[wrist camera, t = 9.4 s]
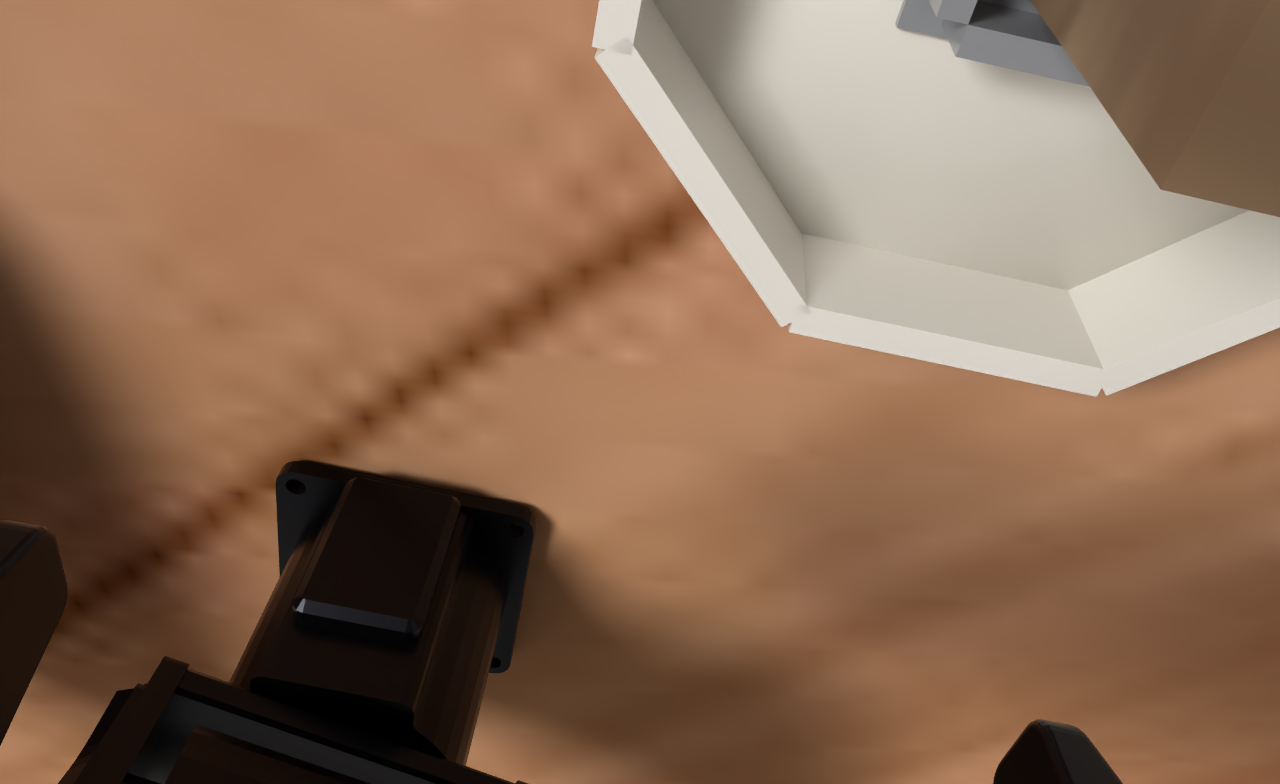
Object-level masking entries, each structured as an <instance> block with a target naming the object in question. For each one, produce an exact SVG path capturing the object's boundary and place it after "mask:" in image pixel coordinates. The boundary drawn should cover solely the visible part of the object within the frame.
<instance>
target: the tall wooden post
mask: <svg viewBox="0 0 1280 784" xmlns="http://www.w3.org/2000/svg"><path fill="white" fill-rule="evenodd" d="M1030 1H1031V2H1032V4H1033V5H1034V7H1035V8H1036V9H1037V11H1038V12H1039V14H1040V15H1041V17H1042V18H1043V20H1044V21H1045V22H1046V24H1047V25H1048V27H1049V28H1050V30H1051V31H1052V33H1053V34H1054V36H1055V37H1056V38H1057V40H1058V41H1059V43H1060V44H1061V46H1062V47H1063V49H1064V50H1065V52H1066V53H1067V54H1068V56H1069V57H1070V59H1071V60H1072V62H1073V63H1074V65H1075V66H1076V68H1077V69H1078V70H1079V72H1080V73H1081V75H1082V76H1083V78H1084V79H1085V81H1086V82H1087V84H1088V85H1089V86H1090V88H1091V89H1092V91H1093V92H1094V94H1095V95H1096V97H1097V98H1098V99H1099V101H1100V102H1101V104H1102V105H1103V107H1104V108H1105V110H1106V111H1107V113H1108V114H1109V115H1110V117H1111V118H1112V120H1113V121H1114V123H1115V124H1116V126H1117V127H1118V129H1119V130H1120V131H1121V133H1122V134H1123V136H1124V137H1125V139H1126V140H1127V142H1128V143H1129V145H1130V146H1131V147H1132V149H1133V150H1134V152H1135V153H1136V155H1137V156H1138V158H1139V159H1140V160H1141V162H1142V163H1143V165H1144V166H1145V168H1146V169H1147V171H1148V172H1149V174H1150V175H1151V176H1152V178H1153V179H1154V181H1155V182H1156V184H1157V185H1158V187H1159V188H1160V190H1165V191H1169V192H1173V193H1177V194H1182V195H1186V196H1190V197H1195V198H1199V199H1203V200H1208V201H1212V202H1216V203H1220V204H1225V205H1229V206H1233V207H1238V208H1242V209H1246V210H1251V211H1255V212H1259V213H1263V214H1268V215H1272V216H1276V217H1280V0H1030Z"/></svg>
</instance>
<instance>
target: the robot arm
mask: <svg viewBox="0 0 1280 784" xmlns="http://www.w3.org/2000/svg"><path fill="white" fill-rule="evenodd" d="M294 479H296V480H298V481H301V482H302V483H299V482H297V481H295V480H294ZM276 501H277V523H278V545H279V567H280V578H279V580H278V582H277V585H276V587H275V589H274V591H273V593H272V595H271V597H270V599H269V601H268V603H267V605H266V607H265V609H264V611H263V613H262V616H261V618H260V620H259V622H258V624H257V626H256V628H255V630H254V632H253V634H252V636H251V638H250V640H249V642H248V644H247V647H246V649H245V651H244V653H243V655H242V657H241V659H240V661H239V663H238V665H237V667H236V669H235V671H234V673H233V676H232V678H231V680H230V682H229V683H228V682H225V681H222V680H219V679H216V678H213V677H211V676H208V675H205V674H202V673H199V672H196V671H193V670H191V669H189V666H190V664H187V663H184V662H181V661H179V660H176V659H173V658H170V657H167V656H165V657H164V658H163V660H162V661H161V663H160V665H159V666H158V668H157V669H156V671H155V673H154V674H153V676H152V677H151V679H150V681H149V682H148V684H145V685H141V684H137V686H136V687H135V688H133V689H127V690H120V691H117V692H116V694H115V695H114V697H113V699H112V700H111V702H110V704H109V706H108V707H107V709H106V711H105V712H104V714H103V716H102V718H101V719H100V721H99V723H98V724H97V726H96V728H95V730H94V731H93V733H92V735H91V736H90V738H89V740H88V741H87V743H86V745H85V746H84V748H83V749H82V751H81V753H80V754H79V756H78V757H77V759H76V760H75V762H74V763H73V764H72V766H71V767H70V769H69V770H68V771H67V772H66V774H65V775H64V776H63V778H62V779H61V780H60V781H59V783H58V784H528V783H525V782H522V781H519V780H518V781H517V782H516V783H512V782H509V781H507V780H504V779H501V778H498V777H495V776H492V775H489V774H487V773H484V772H481V771H478V770H475V769H472V768H470V767H467V766H466V762H467V758H468V754H469V750H470V746H471V742H472V738H473V734H474V730H475V726H476V722H477V718H478V714H479V710H480V706H481V702H482V698H483V693H484V689H485V685H486V681H487V677H488V673H501V672H504V671H506V670H508V668H509V666H510V663H511V658H512V654H513V648H514V643H515V637H516V632H517V626H518V621H519V615H520V610H521V604H522V599H523V593H524V588H525V582H526V577H527V571H528V566H529V560H530V555H531V549H532V544H533V538H534V533H535V527H536V517H535V515H534V514H533V512H532V511H530V510H529V509H528V508H526V507H523V506H520V505H516V504H511V503H506V502H501V501H496V500H491V499H486V498H481V497H476V496H471V495H466V494H461V493H456V492H451V491H446V490H441V489H436V488H431V487H426V486H421V485H416V484H411V483H406V482H401V481H396V480H391V479H386V478H381V477H376V476H371V475H366V474H361V473H356V472H351V471H345V470H340V469H335V468H330V467H325V466H320V465H315V464H310V463H305V462H298V461H292V462H289V463H287V464H285V465H284V466H283V468H282V469H281V471H280V473H279V475H278V477H277V480H276ZM511 523H516V524H519V525H521V526H515V525H512V524H511ZM66 599H67V582H66V578H65V574H64V570H63V566H62V562H61V558H60V554H59V550H58V546H57V541H56V538H55V535H54V533H53V532H52V531H51V530H50V529H49V528H47V527H44V526H40V525H35V524H30V523H24V522H19V521H14V520H2V521H0V745H1V743H2V741H3V739H4V737H5V734H6V732H7V730H8V728H9V726H10V724H11V722H12V720H13V717H14V715H15V713H16V711H17V709H18V707H19V705H20V703H21V700H22V698H23V696H24V694H25V692H26V690H27V688H28V685H29V683H30V681H31V679H32V677H33V675H34V673H35V671H36V668H37V666H38V664H39V662H40V660H41V658H42V656H43V653H44V651H45V649H46V647H47V645H48V643H49V641H50V639H51V636H52V634H53V632H54V630H55V628H56V626H57V624H58V621H59V619H60V617H61V615H62V613H63V610H64V607H65V604H66ZM993 784H1123V783H1122V782H1121V780H1120V779H1119V778H1118V776H1117V775H1116V774H1115V773H1114V771H1113V770H1112V769H1111V767H1110V766H1109V765H1108V763H1107V762H1106V761H1105V759H1104V758H1103V757H1102V755H1101V754H1100V753H1099V751H1098V750H1097V749H1096V747H1095V746H1094V745H1093V743H1092V742H1091V741H1090V739H1089V738H1088V737H1087V736H1086V735H1085V734H1084V733H1083V732H1082V731H1081V730H1080V729H1078V728H1077V727H1074V726H1071V725H1067V724H1062V723H1057V722H1052V721H1046V720H1035V721H1033V722H1031V723H1030V724H1029V725H1028V726H1027V727H1026V728H1025V730H1024V731H1023V732H1022V734H1021V735H1020V736H1019V738H1018V739H1017V740H1016V742H1015V743H1014V744H1013V746H1012V747H1011V748H1010V750H1009V751H1008V752H1007V754H1006V755H1005V756H1004V758H1003V759H1002V760H1001V762H1000V763H999V765H998V767H997V770H996V772H995V776H994V782H993Z"/></svg>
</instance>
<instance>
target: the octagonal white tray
mask: <svg viewBox="0 0 1280 784" xmlns="http://www.w3.org/2000/svg"><path fill="white" fill-rule="evenodd" d="M592 47H596V48H598V49H597V52H596V55H595V57H594V58H595V59H596V61H597V62H598V63H599V65H600V66H601V68H602V69H603V71H604V72H605V74H606V75H607V76H608V78H609V79H610V81H611V82H612V84H613V85H614V87H615V88H616V89H617V91H618V92H619V94H620V95H621V97H622V98H623V100H624V101H625V102H626V104H627V105H628V107H629V108H630V110H631V111H632V113H633V114H634V115H635V117H636V118H637V120H638V121H639V123H640V124H641V126H642V127H643V128H644V130H645V131H646V133H647V134H648V136H649V137H650V139H651V140H652V141H653V143H654V144H655V146H656V147H657V149H658V150H659V151H660V153H661V154H662V156H663V157H664V159H665V160H666V162H667V163H668V164H669V166H670V167H671V169H672V170H673V172H674V173H675V175H676V176H677V177H678V179H679V180H680V182H681V183H682V185H683V186H684V188H685V189H686V190H687V192H688V193H689V195H690V196H691V198H692V199H693V201H694V202H695V203H696V205H697V206H698V208H699V209H700V211H701V212H702V214H703V215H704V216H705V218H706V219H707V221H708V222H709V224H710V225H711V227H712V228H713V229H714V231H715V232H716V234H717V235H718V237H719V238H720V240H721V241H722V242H723V244H724V245H725V247H726V248H727V250H728V251H729V253H730V254H731V255H732V257H733V258H734V260H735V261H736V263H737V264H738V266H739V267H740V268H741V270H742V271H743V273H744V274H745V276H746V277H747V279H748V280H749V281H750V283H751V284H752V286H753V287H754V289H755V290H756V292H757V293H758V294H759V296H760V297H761V299H762V300H763V302H764V303H765V304H766V306H767V307H768V309H769V310H770V312H771V313H772V315H773V316H774V317H775V319H776V320H777V322H778V323H779V325H780V326H781V327H783V326H785V325H787V324H788V325H789V332H791V333H795V334H800V335H805V336H810V337H814V338H819V339H824V340H829V341H833V342H838V343H843V344H848V345H853V346H857V347H862V348H867V349H872V350H876V351H881V352H886V353H891V354H895V355H900V356H905V357H910V358H914V359H919V360H924V361H929V362H933V363H938V364H943V365H948V366H952V367H957V368H962V369H967V370H971V371H976V372H981V373H986V374H990V375H995V376H1000V377H1005V378H1009V379H1014V380H1019V381H1024V382H1029V383H1033V384H1038V385H1043V386H1048V387H1052V388H1057V389H1062V390H1067V391H1071V392H1076V393H1081V394H1086V395H1090V396H1095V397H1097V395H1098V393H1099V392H1100V390H1101V388H1103V390H1104V392H1105V394H1106V396H1107V395H1110V394H1112V393H1115V392H1117V391H1120V390H1122V389H1125V388H1127V387H1130V386H1132V385H1135V384H1138V383H1140V382H1143V381H1145V380H1148V379H1150V378H1153V377H1155V376H1158V375H1160V374H1163V373H1165V372H1168V371H1171V370H1173V369H1176V368H1178V367H1181V366H1183V365H1186V364H1188V363H1191V362H1193V361H1196V360H1198V359H1201V358H1204V357H1206V356H1209V355H1211V354H1214V353H1216V352H1219V351H1221V350H1224V349H1226V348H1229V347H1231V346H1234V345H1237V344H1239V343H1242V342H1244V341H1247V340H1249V339H1252V338H1254V337H1257V336H1259V335H1262V334H1264V333H1267V332H1270V331H1272V330H1275V329H1277V328H1280V217H1276V216H1272V215H1268V214H1263V213H1259V212H1255V211H1251V210H1246V209H1242V208H1238V207H1233V206H1229V205H1225V204H1220V203H1216V202H1212V201H1208V200H1203V199H1199V198H1195V197H1190V196H1186V195H1182V194H1177V193H1173V192H1169V191H1165V190H1160V188H1159V187H1158V185H1157V184H1156V182H1155V181H1154V179H1153V178H1152V176H1151V175H1150V174H1149V172H1148V171H1147V169H1146V168H1145V166H1144V165H1143V163H1142V162H1141V160H1140V159H1139V158H1138V156H1137V155H1136V153H1135V152H1134V150H1133V149H1132V147H1131V146H1130V145H1129V143H1128V142H1127V140H1126V139H1125V137H1124V136H1123V134H1122V133H1121V131H1120V130H1119V129H1118V127H1117V126H1116V124H1115V123H1114V121H1113V120H1112V118H1111V117H1110V115H1109V114H1108V113H1107V111H1106V110H1105V108H1104V107H1103V105H1102V104H1101V102H1100V101H1099V99H1098V98H1097V97H1096V95H1095V94H1094V92H1093V91H1092V89H1091V88H1090V86H1089V85H1088V84H1087V82H1086V81H1085V79H1084V78H1083V76H1082V75H1081V73H1080V72H1079V70H1078V69H1077V68H1076V66H1075V65H1074V63H1073V62H1072V60H1071V59H1070V57H1069V56H1068V54H1067V53H1066V52H1065V50H1064V49H1063V47H1062V46H1061V44H1060V43H1059V41H1058V40H1057V38H1056V37H1055V36H1054V34H1053V33H1052V31H1051V30H1050V28H1049V27H1048V25H1047V24H1046V22H1045V21H1044V20H1043V18H1042V17H1041V15H1040V14H1039V12H1038V11H1037V9H1036V8H1035V7H1034V5H1033V4H1032V2H1031V1H1030V0H599V6H598V12H597V18H596V24H595V30H594V37H593V43H592Z"/></svg>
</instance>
